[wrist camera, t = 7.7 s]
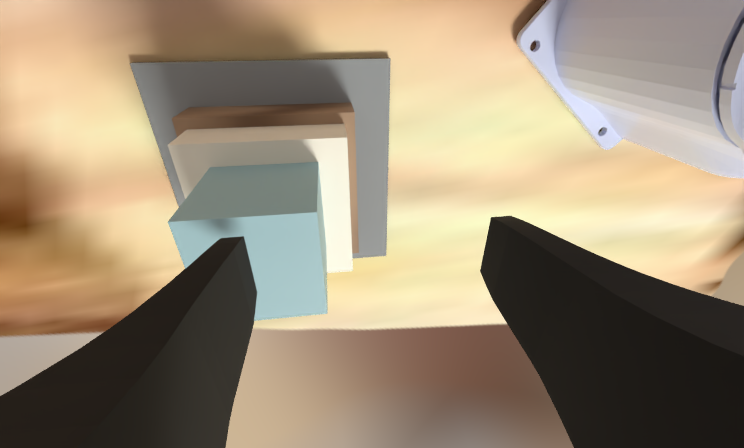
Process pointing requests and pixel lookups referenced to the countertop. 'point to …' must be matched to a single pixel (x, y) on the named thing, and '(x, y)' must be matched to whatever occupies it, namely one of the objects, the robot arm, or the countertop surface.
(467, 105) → the countertop surface
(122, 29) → the countertop surface
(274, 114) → the walnut slab
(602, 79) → the robot arm
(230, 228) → the teal cube
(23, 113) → the countertop surface
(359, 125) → the slate mat
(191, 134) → the cream slab
